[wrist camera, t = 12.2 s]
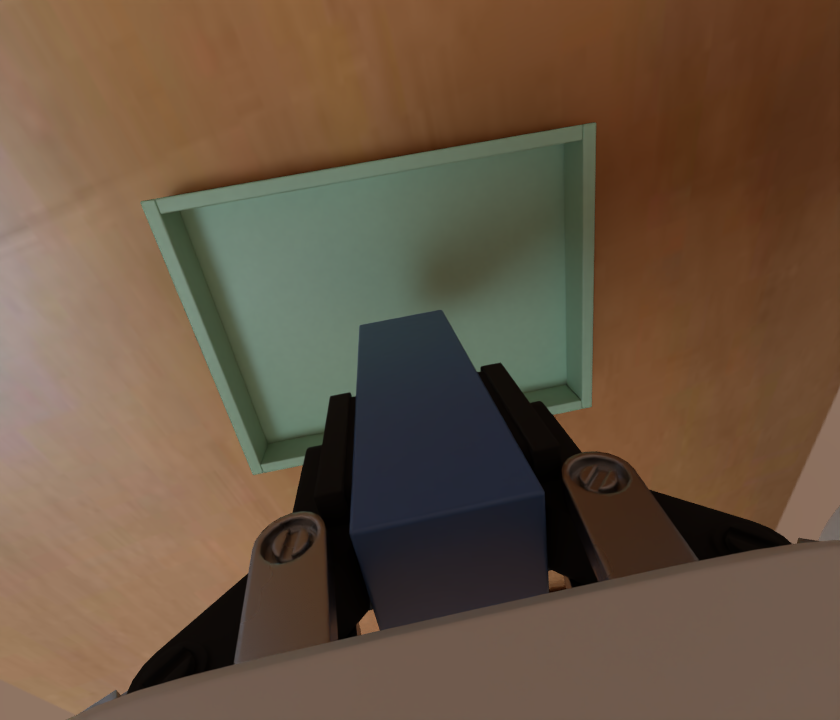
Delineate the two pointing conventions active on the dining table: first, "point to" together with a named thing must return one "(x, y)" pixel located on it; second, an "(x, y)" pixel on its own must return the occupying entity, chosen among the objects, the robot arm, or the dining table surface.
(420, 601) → the block
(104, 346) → the dining table surface
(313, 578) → the robot arm
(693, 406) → the dining table surface
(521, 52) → the dining table surface
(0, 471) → the dining table surface
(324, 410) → the tray
